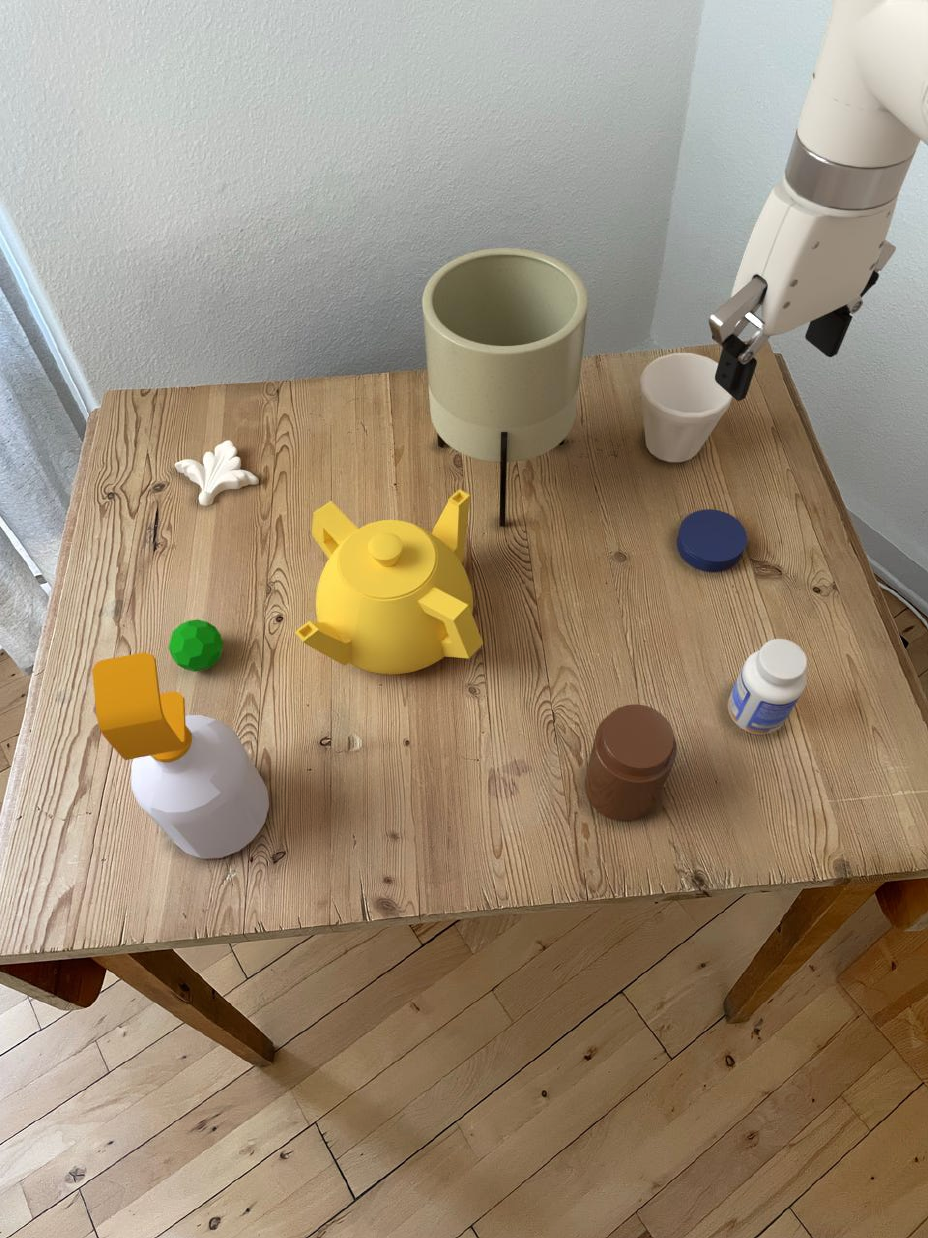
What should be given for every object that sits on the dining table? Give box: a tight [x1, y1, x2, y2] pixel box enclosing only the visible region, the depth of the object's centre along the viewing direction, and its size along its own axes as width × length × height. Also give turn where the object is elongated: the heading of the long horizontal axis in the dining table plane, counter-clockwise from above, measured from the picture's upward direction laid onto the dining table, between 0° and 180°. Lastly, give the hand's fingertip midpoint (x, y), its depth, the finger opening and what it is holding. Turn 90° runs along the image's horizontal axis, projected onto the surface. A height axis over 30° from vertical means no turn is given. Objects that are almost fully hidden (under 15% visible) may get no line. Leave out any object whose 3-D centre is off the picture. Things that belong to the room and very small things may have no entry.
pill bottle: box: [727, 638, 808, 736], centre depth 78 cm, size 5×5×10 cm
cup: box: [638, 352, 733, 464], centre depth 97 cm, size 10×10×9 cm
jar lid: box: [676, 508, 748, 573], centre depth 92 cm, size 7×7×2 cm
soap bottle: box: [91, 651, 270, 860], centre depth 67 cm, size 9×9×25 cm
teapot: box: [293, 488, 484, 675], centre depth 84 cm, size 17×17×12 cm
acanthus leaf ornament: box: [174, 440, 260, 507], centre depth 99 cm, size 8×7×2 cm
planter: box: [421, 247, 589, 527], centre depth 90 cm, size 15×16×23 cm
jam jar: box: [584, 703, 678, 823], centre depth 74 cm, size 7×7×11 cm
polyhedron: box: [168, 619, 224, 673], centre depth 84 cm, size 5×5×5 cm
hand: (775, 368), depth 72 cm, fingers open, 9 cm apart
